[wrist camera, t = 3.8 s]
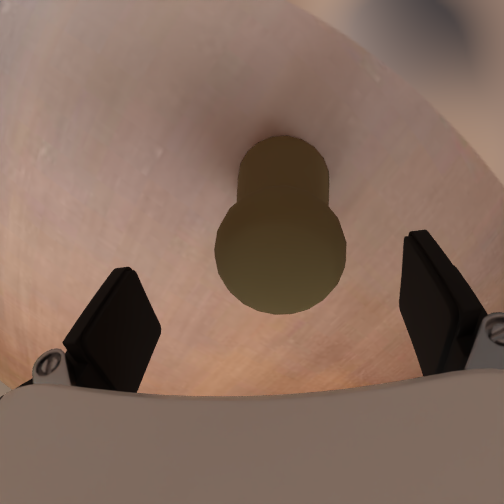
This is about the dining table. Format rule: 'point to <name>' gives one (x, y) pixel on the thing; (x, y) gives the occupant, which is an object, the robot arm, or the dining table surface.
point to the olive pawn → (281, 230)
